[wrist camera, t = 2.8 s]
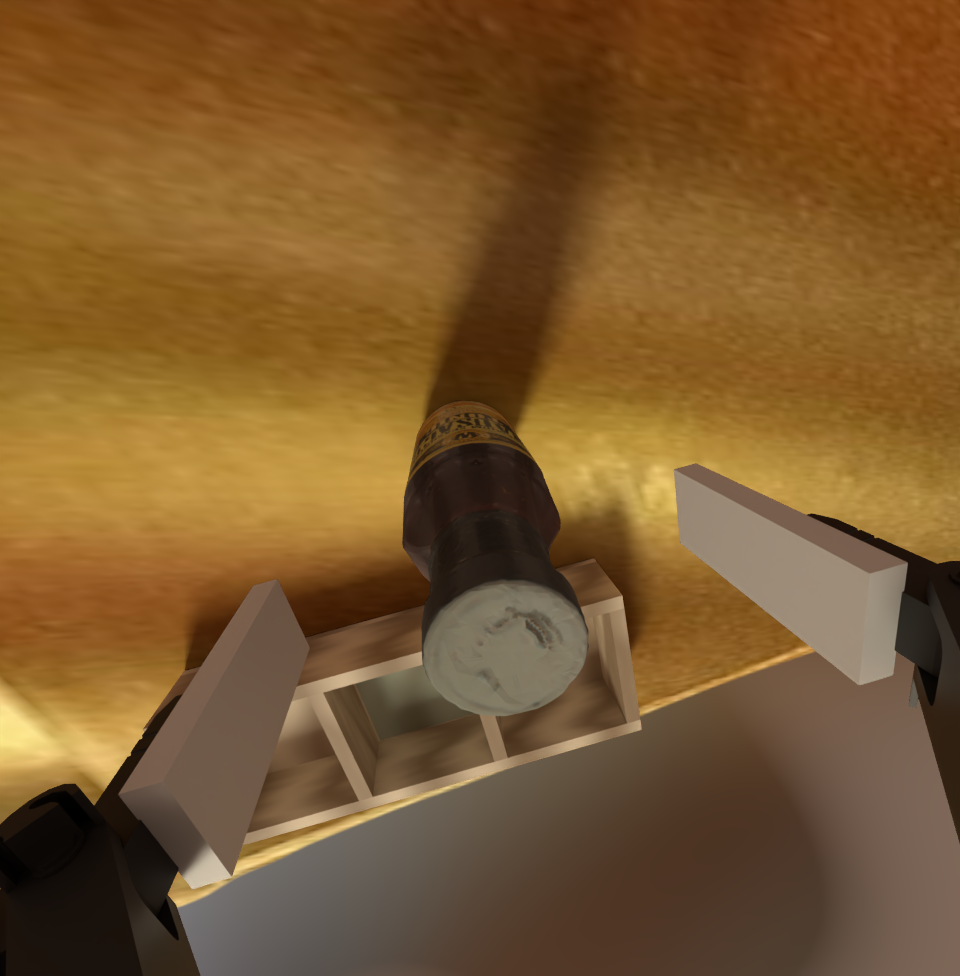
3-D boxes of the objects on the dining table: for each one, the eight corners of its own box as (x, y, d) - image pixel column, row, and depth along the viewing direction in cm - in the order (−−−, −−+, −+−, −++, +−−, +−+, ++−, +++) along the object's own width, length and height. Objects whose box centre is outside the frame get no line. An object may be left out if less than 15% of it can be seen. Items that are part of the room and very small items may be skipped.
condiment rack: (594, 558, 33) (622, 595, 28) (614, 679, 37) (641, 729, 32) (184, 671, 32) (143, 729, 27) (252, 782, 36) (227, 849, 31)
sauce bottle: (504, 389, 28) (666, 502, 9) (514, 481, 30) (661, 721, 12) (401, 404, 28) (357, 555, 9) (419, 497, 30) (413, 773, 11)
